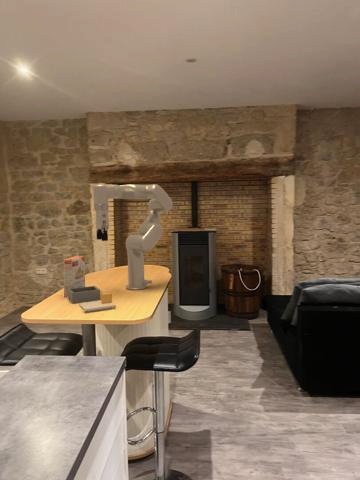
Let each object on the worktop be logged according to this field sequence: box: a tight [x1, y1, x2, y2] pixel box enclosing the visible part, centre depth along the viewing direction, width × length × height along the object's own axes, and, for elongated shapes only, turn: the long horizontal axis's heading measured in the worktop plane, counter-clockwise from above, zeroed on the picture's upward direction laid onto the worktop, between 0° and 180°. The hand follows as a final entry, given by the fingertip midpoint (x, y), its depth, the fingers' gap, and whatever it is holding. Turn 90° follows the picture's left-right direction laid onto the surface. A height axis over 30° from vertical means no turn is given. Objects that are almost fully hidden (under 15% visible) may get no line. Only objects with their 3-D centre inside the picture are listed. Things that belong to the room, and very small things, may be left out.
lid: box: [78, 292, 117, 313], centre depth 168 cm, size 15×12×6 cm
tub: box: [67, 285, 102, 305], centre depth 181 cm, size 14×11×6 cm
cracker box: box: [62, 255, 86, 298], centre depth 192 cm, size 14×6×21 cm, turn 168°
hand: (102, 240), depth 190 cm, fingers open, 9 cm apart
